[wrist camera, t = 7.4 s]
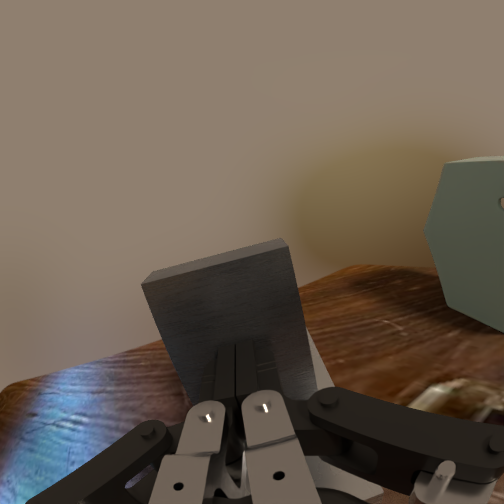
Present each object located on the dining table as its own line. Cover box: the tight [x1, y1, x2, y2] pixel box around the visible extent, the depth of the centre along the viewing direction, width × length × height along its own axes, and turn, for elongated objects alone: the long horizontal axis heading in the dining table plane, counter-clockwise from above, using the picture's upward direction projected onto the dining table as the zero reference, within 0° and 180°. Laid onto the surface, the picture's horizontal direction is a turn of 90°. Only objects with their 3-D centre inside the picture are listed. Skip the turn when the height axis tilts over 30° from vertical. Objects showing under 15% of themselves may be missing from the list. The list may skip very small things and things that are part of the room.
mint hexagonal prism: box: [423, 156, 504, 333], centre depth 23 cm, size 17×8×21 cm
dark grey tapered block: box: [141, 238, 318, 443], centre depth 17 cm, size 11×6×10 cm, turn 3°
